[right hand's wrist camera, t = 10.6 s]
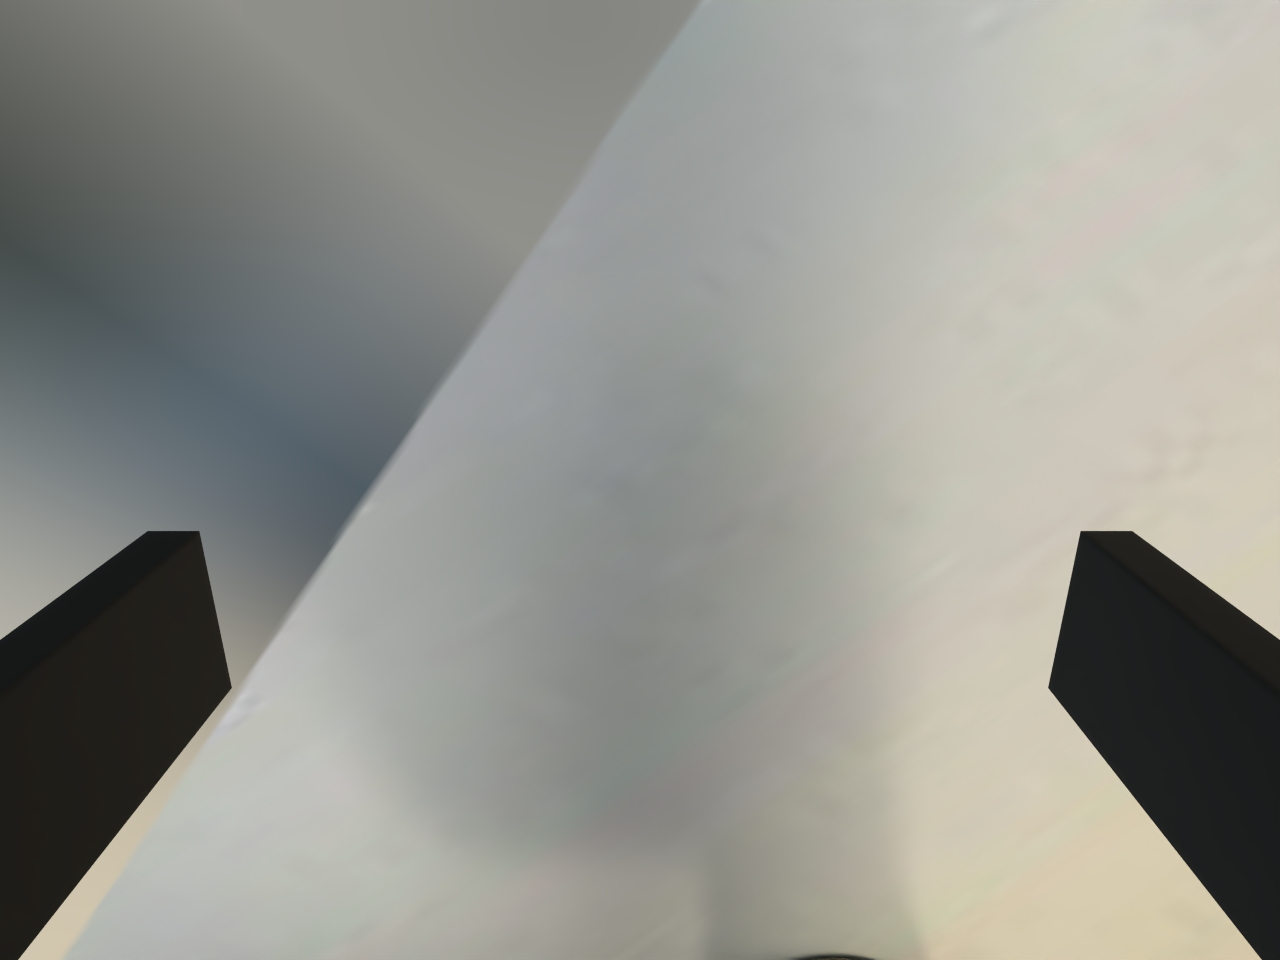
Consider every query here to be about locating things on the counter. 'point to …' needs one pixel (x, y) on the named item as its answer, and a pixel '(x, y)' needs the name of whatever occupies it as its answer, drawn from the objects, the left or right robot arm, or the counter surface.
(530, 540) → the counter surface
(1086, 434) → the counter surface
